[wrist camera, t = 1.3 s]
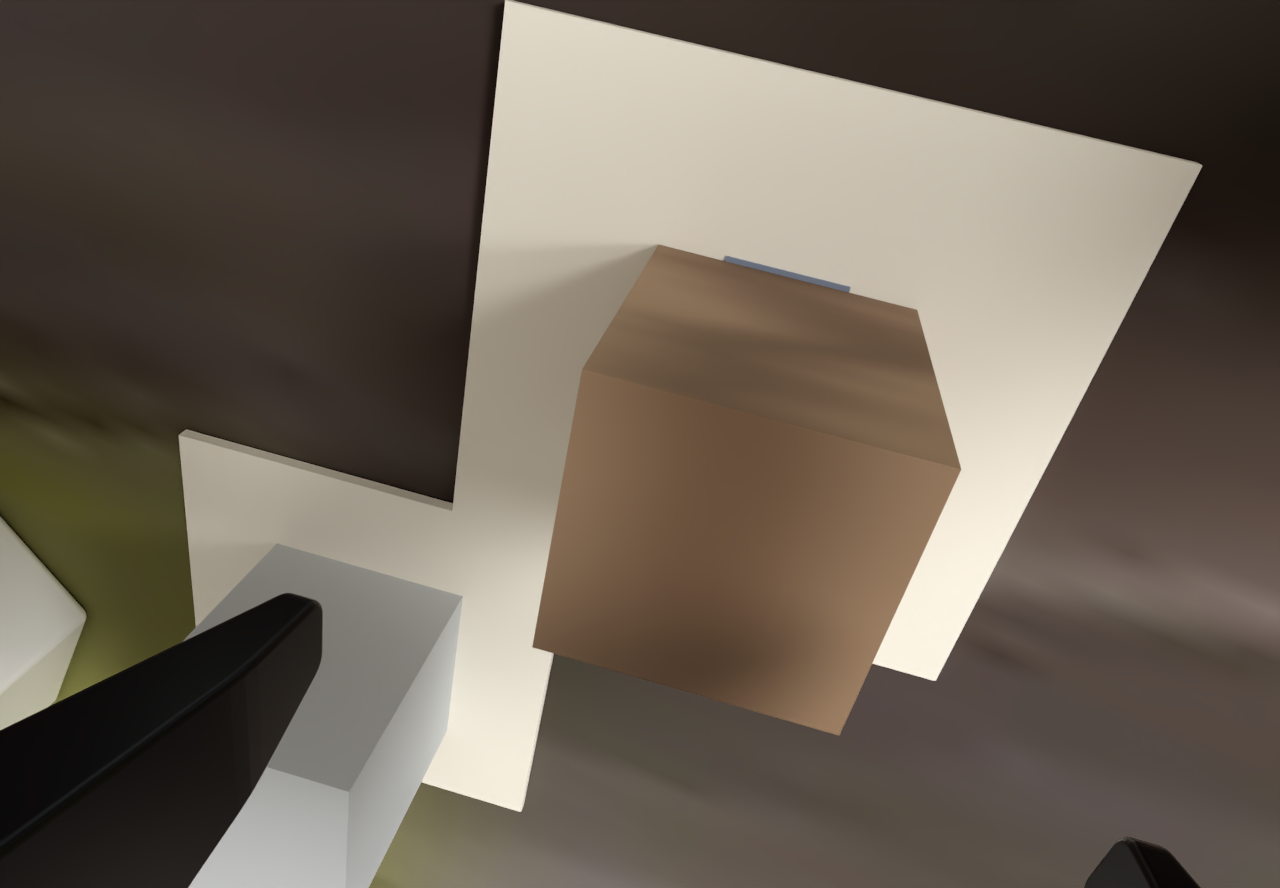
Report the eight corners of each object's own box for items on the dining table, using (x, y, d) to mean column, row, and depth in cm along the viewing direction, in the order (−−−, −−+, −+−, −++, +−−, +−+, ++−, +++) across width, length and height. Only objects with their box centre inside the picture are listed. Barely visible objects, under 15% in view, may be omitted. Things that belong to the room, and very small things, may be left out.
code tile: (1196, 161, 14) (1203, 165, 14) (933, 672, 20) (935, 682, 20) (511, -1, 15) (504, -1, 15) (453, 537, 21) (448, 544, 21)
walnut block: (916, 310, 16) (961, 469, 11) (834, 523, 19) (839, 735, 13) (658, 244, 16) (581, 368, 11) (612, 463, 19) (532, 647, 14)
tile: (576, 537, 20) (573, 544, 20) (523, 803, 25) (521, 812, 25) (186, 429, 21) (178, 434, 21) (209, 709, 26) (203, 716, 26)
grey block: (463, 596, 22) (349, 792, 16) (447, 730, 24) (343, 937, 19) (276, 543, 22) (107, 719, 17) (280, 681, 24) (133, 871, 19)
